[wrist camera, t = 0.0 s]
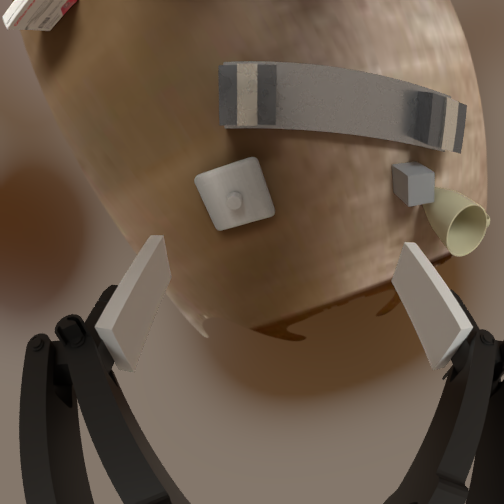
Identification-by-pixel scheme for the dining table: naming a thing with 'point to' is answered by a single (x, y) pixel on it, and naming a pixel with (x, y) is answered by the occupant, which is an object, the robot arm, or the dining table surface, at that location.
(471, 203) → the mug
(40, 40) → the dining table surface
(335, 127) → the rail
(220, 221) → the grey cover with knob
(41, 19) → the ink box
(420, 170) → the block
